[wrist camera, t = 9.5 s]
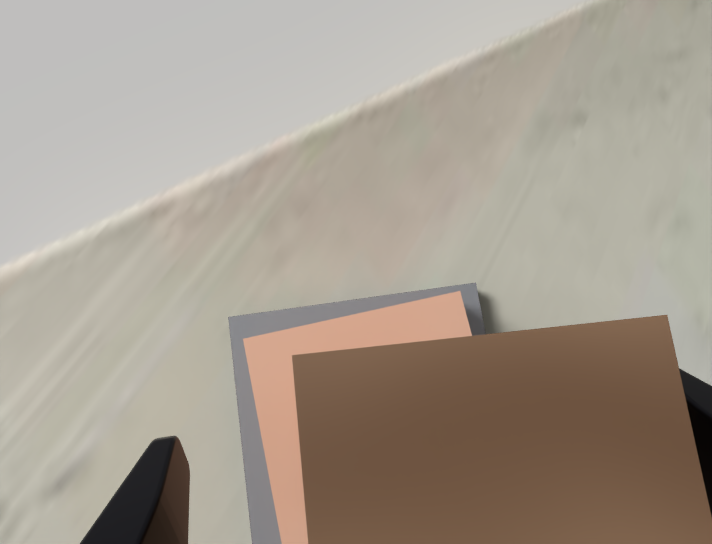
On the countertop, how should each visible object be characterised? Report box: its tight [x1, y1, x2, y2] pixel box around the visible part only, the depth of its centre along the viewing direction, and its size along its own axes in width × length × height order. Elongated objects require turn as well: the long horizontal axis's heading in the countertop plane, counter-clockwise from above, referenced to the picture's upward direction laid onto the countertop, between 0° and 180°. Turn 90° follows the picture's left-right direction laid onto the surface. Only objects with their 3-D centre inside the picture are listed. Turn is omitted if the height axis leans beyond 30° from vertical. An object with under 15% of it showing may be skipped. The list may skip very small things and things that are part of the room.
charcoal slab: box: [228, 283, 486, 544], centre depth 21 cm, size 10×10×2 cm
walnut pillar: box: [292, 315, 712, 544], centre depth 12 cm, size 5×5×12 cm
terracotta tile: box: [243, 291, 472, 544], centre depth 19 cm, size 8×8×2 cm
